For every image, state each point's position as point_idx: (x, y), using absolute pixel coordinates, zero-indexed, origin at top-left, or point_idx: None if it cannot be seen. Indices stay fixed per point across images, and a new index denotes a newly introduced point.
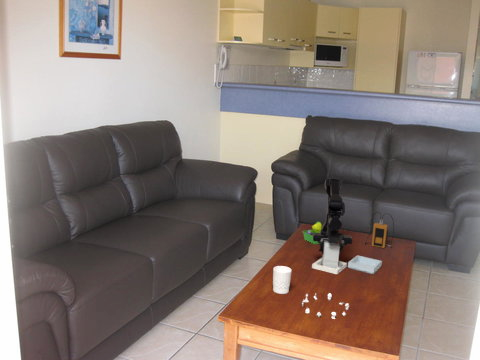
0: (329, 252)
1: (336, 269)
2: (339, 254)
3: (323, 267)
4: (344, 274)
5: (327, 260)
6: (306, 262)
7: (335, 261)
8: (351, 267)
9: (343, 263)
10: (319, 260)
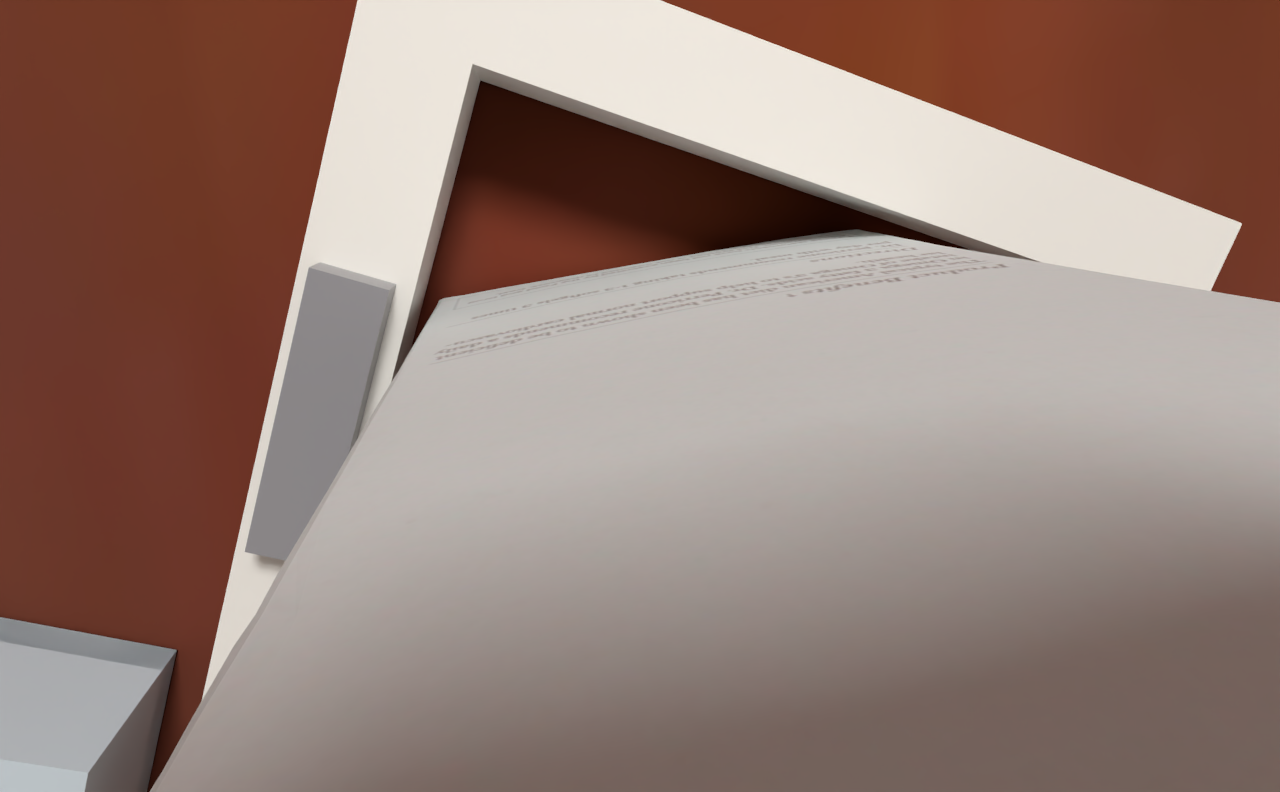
0: (1057, 372)
1: (432, 7)
2: None
3: (895, 93)
4: (163, 45)
5: (871, 275)
6: None
7: (520, 338)
8: (36, 647)
9: None
10: None
